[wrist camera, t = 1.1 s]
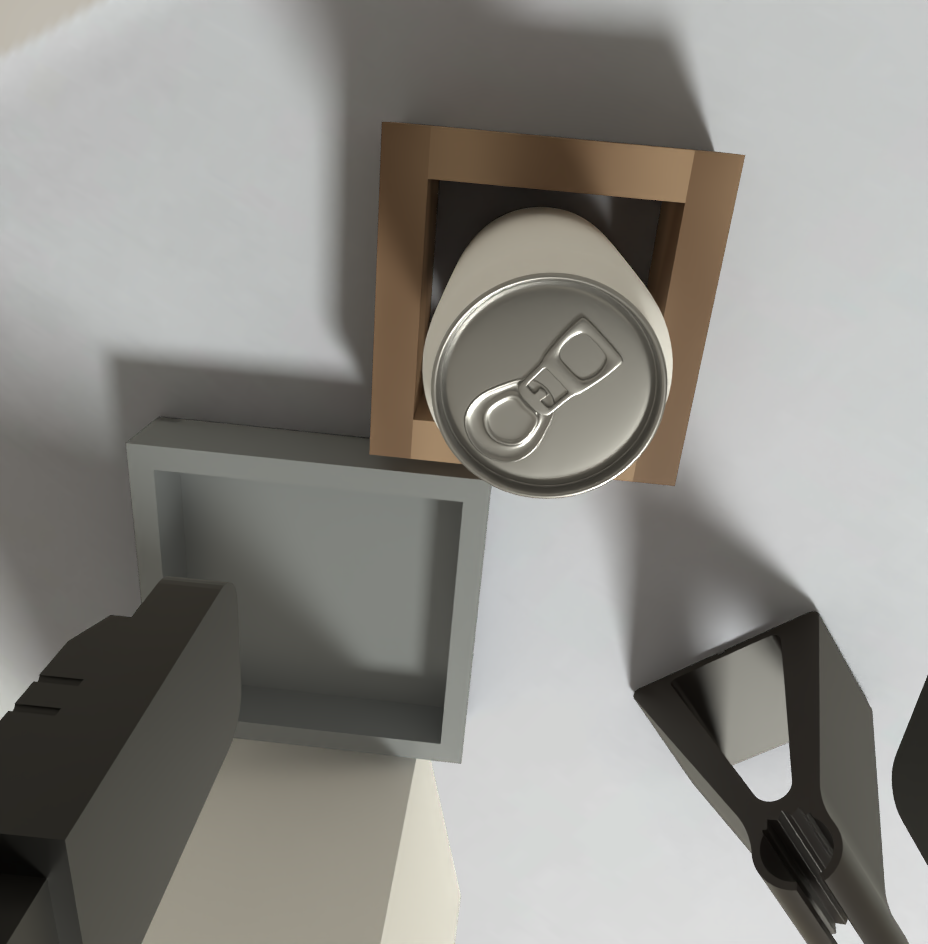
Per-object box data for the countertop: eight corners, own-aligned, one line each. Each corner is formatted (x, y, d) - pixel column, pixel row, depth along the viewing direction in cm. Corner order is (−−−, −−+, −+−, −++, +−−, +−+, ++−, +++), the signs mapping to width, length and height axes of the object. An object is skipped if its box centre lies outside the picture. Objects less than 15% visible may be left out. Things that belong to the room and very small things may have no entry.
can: (416, 292, 30) (357, 387, 19) (543, 164, 28) (558, 188, 17) (532, 409, 31) (539, 560, 20) (660, 297, 29) (743, 398, 18)
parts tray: (494, 450, 32) (491, 481, 30) (465, 717, 38) (461, 763, 35) (158, 416, 33) (126, 443, 30) (180, 686, 38) (153, 729, 36)
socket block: (714, 151, 27) (745, 155, 24) (656, 444, 32) (674, 485, 28) (400, 122, 28) (381, 121, 24) (386, 417, 32) (369, 454, 28)
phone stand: (816, 608, 34) (956, 834, 23) (868, 704, 36) (1020, 955, 25) (631, 690, 37) (679, 930, 26) (689, 776, 39) (756, 1033, 28)
